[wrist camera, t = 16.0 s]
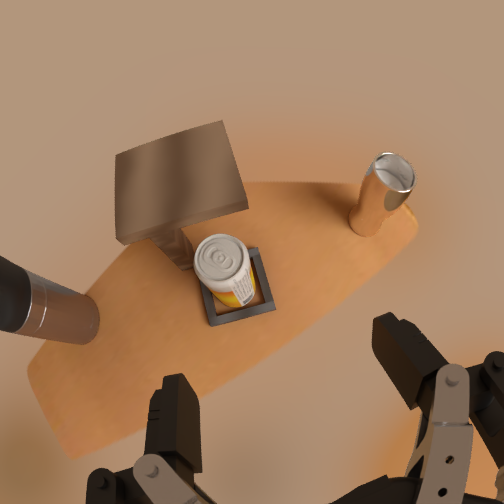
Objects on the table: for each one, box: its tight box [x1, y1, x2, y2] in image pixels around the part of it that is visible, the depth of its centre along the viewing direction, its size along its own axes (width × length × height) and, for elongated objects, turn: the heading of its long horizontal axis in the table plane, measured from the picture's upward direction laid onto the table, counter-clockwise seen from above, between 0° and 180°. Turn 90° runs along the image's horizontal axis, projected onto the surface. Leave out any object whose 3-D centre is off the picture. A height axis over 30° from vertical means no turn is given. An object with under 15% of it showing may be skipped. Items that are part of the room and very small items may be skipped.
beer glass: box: [349, 152, 417, 237], centre depth 39 cm, size 7×7×15 cm
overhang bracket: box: [115, 120, 276, 327], centre depth 33 cm, size 13×16×23 cm
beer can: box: [194, 234, 255, 307], centre depth 36 cm, size 6×6×15 cm
